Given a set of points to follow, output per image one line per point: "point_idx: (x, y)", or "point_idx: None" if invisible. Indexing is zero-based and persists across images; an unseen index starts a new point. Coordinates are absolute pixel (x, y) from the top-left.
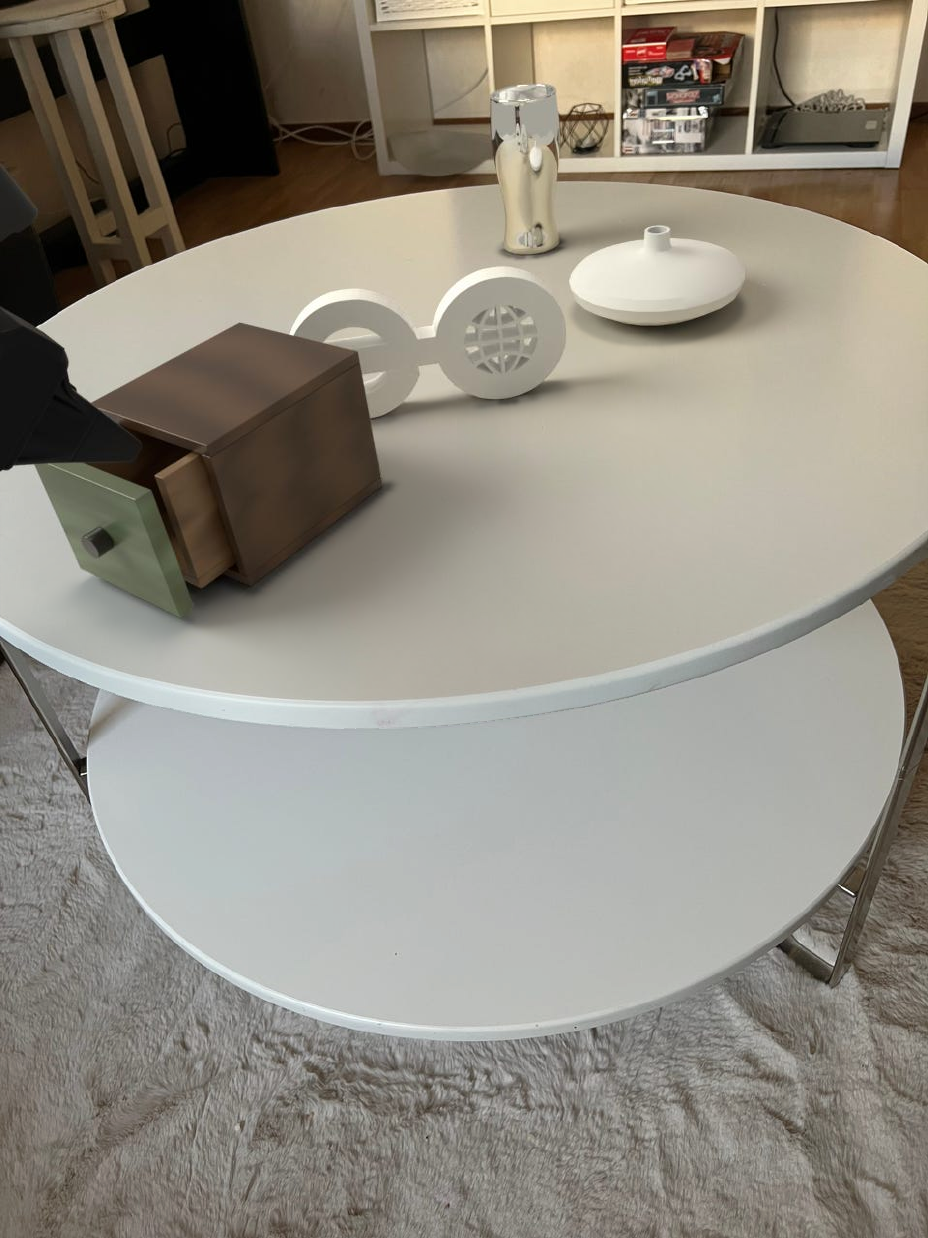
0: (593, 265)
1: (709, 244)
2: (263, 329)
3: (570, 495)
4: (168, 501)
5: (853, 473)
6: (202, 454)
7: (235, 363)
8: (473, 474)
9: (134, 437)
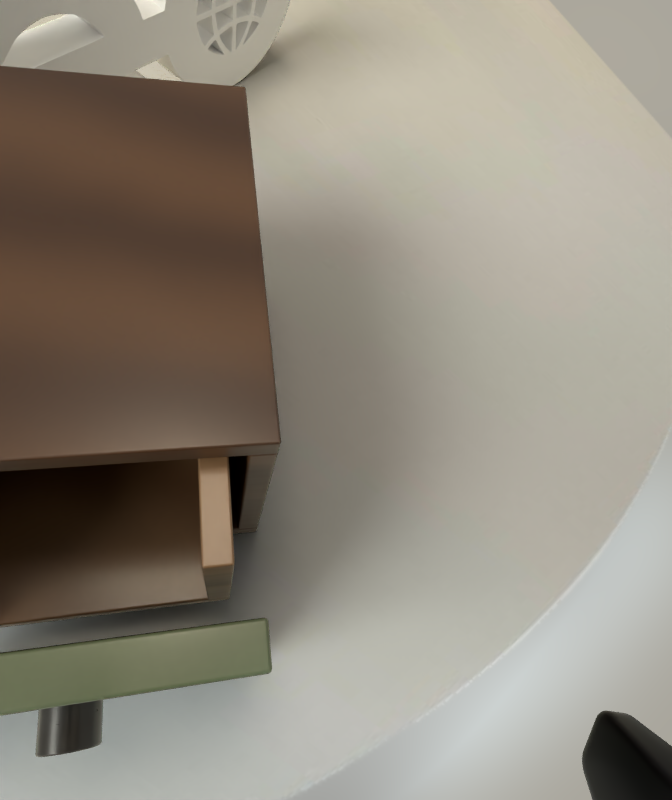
0: None
1: None
2: None
3: (441, 207)
4: (223, 575)
5: (599, 104)
6: None
7: (24, 181)
8: (320, 214)
9: (665, 743)
